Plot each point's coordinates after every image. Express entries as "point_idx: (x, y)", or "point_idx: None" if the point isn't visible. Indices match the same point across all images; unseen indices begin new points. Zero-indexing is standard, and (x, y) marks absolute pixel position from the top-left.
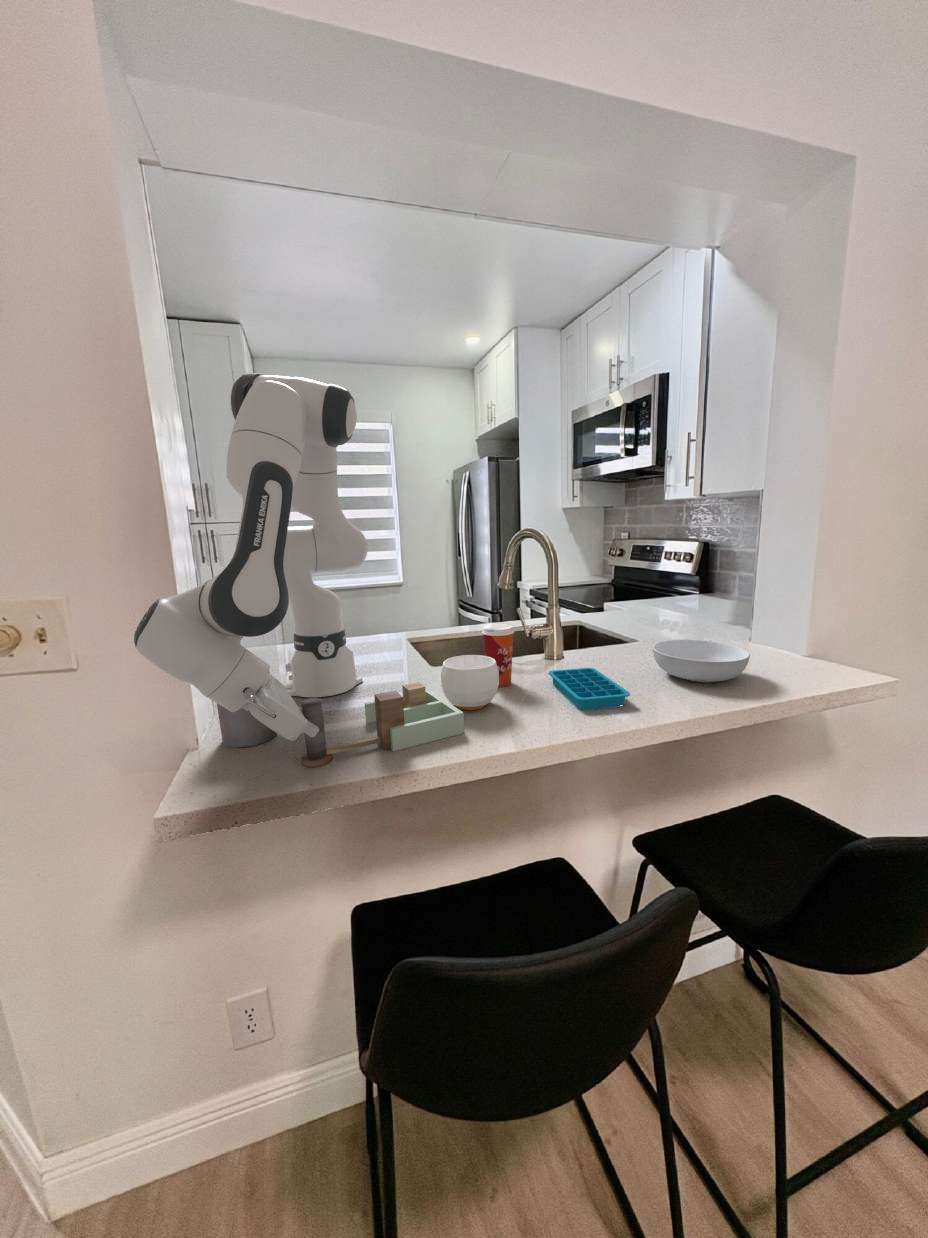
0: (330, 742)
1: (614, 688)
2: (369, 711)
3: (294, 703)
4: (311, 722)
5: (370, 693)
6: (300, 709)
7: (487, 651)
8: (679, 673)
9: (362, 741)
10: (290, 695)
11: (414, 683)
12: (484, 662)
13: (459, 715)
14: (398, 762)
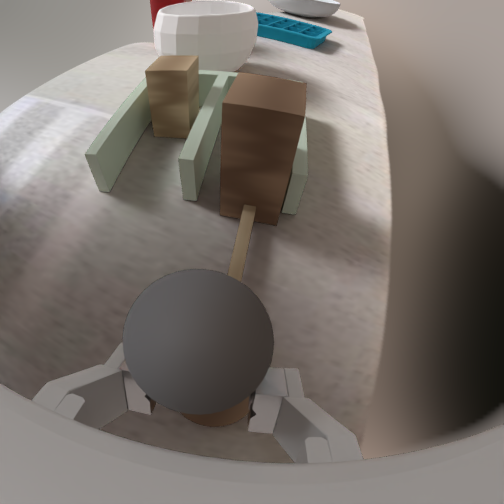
0: (127, 303)
1: (301, 25)
2: (104, 164)
3: (264, 492)
4: (279, 392)
5: (15, 145)
6: (96, 380)
7: (165, 4)
8: (309, 11)
9: (242, 246)
10: (6, 395)
11: (160, 59)
12: (199, 10)
13: None
14: (349, 231)
